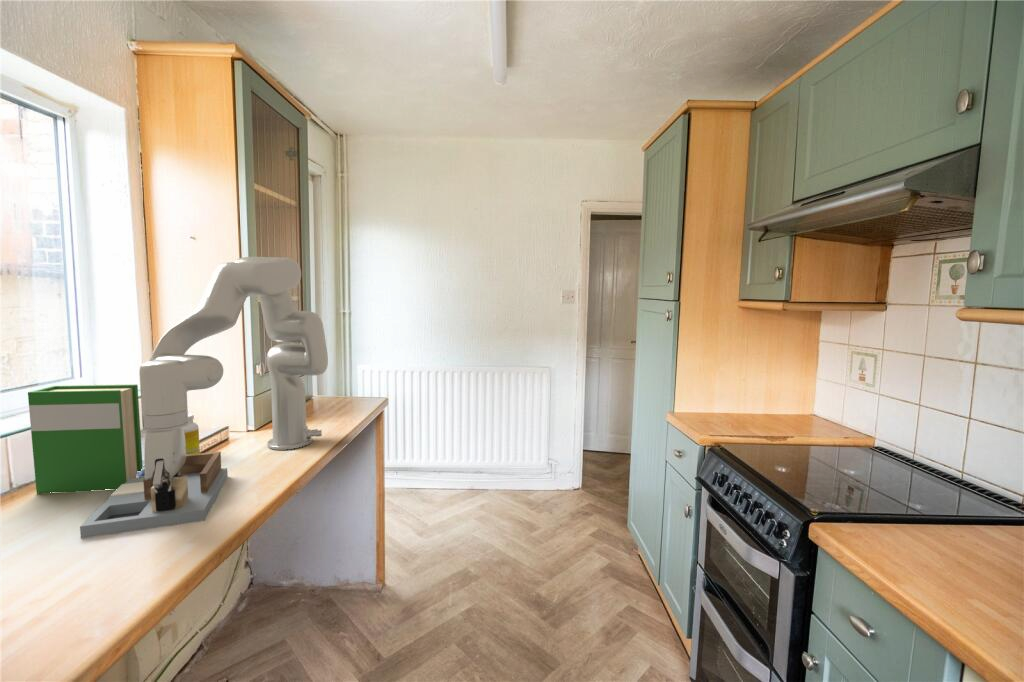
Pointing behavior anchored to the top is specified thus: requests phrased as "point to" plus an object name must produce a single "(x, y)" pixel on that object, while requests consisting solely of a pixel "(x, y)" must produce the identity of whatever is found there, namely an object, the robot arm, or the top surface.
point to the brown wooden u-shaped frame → (195, 470)
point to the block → (180, 492)
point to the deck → (150, 508)
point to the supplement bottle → (191, 436)
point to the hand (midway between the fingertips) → (170, 502)
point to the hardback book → (85, 437)
